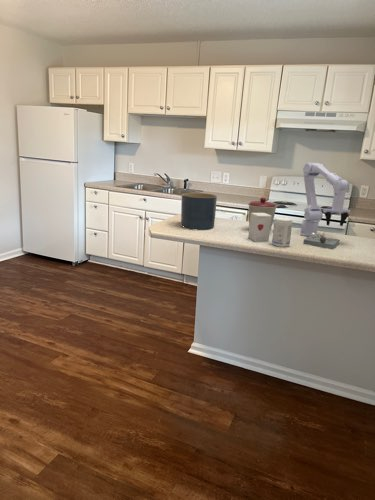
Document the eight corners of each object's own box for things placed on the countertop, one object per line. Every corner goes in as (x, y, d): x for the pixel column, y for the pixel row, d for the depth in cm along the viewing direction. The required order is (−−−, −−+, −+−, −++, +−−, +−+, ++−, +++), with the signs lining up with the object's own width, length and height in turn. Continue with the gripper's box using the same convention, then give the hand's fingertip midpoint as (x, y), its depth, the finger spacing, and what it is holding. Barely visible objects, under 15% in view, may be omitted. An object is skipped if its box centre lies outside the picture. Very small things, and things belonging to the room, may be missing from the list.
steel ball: (309, 238, 211) (310, 232, 210) (311, 237, 213) (311, 231, 213) (315, 239, 209) (315, 233, 208) (316, 238, 212) (317, 232, 211)
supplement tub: (284, 242, 209) (287, 216, 205) (292, 247, 200) (296, 220, 196) (268, 242, 206) (271, 216, 202) (276, 247, 197) (279, 220, 193)
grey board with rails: (303, 243, 208) (303, 238, 207) (310, 238, 220) (311, 233, 219) (332, 249, 199) (333, 243, 198) (339, 243, 211) (339, 238, 210)
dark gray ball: (318, 242, 202) (319, 236, 201) (320, 241, 205) (321, 235, 204) (324, 243, 200) (325, 237, 199) (326, 242, 203) (327, 236, 202)
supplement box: (254, 241, 207) (257, 215, 203) (247, 237, 215) (250, 212, 211) (269, 241, 209) (272, 215, 205) (262, 237, 217) (264, 212, 213)
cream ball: (317, 237, 214) (318, 231, 214) (319, 236, 217) (320, 230, 216) (323, 237, 213) (324, 232, 212) (324, 237, 215) (325, 231, 214)
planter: (175, 223, 243) (176, 192, 238) (204, 222, 253) (206, 192, 247) (189, 231, 224) (190, 198, 219) (220, 229, 233) (223, 197, 228)
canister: (272, 228, 243) (276, 196, 237) (276, 234, 226) (280, 200, 220) (244, 226, 245) (247, 194, 239) (246, 232, 227) (249, 198, 222)
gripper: (328, 202, 202) (324, 226, 206) (354, 203, 203) (350, 227, 207) (323, 200, 209) (319, 223, 213) (348, 201, 209) (344, 224, 213)
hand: (334, 225), depth 210 cm, fingers open, 7 cm apart
